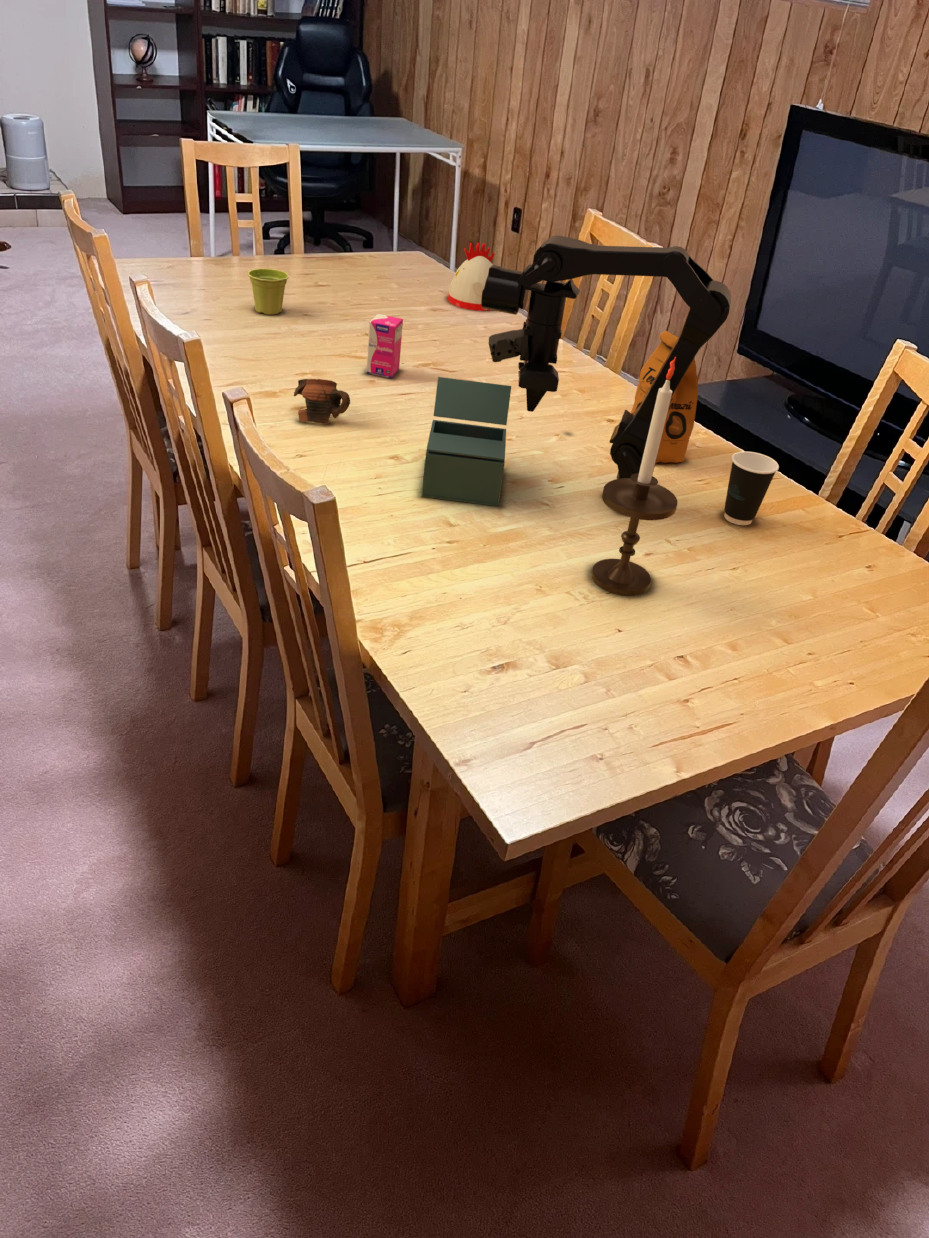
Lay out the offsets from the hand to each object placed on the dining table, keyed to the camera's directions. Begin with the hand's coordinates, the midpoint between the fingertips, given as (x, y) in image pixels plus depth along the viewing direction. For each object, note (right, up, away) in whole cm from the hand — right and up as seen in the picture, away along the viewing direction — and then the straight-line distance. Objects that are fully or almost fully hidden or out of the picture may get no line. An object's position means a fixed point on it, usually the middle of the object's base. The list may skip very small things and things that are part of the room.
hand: (530, 410), depth 167 cm
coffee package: (+26, -3, +24) cm, 36 cm away
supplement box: (-29, +17, +42) cm, 54 cm away
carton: (-12, -12, +4) cm, 17 cm away
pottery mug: (-38, +3, +20) cm, 44 cm away
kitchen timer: (-9, +48, +90) cm, 103 cm away
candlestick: (+13, -30, -17) cm, 36 cm away
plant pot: (-58, +38, +67) cm, 96 cm away
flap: (-10, +3, +4) cm, 11 cm away
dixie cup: (+37, -18, +4) cm, 41 cm away
